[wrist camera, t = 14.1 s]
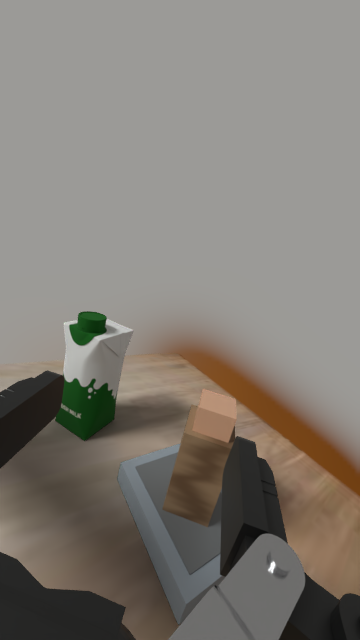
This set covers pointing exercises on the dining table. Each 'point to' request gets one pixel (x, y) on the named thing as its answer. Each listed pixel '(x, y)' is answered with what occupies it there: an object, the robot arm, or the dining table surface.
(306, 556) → the dining table surface
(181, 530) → the dock
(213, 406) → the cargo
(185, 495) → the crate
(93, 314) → the milk carton
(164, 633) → the dining table surface
